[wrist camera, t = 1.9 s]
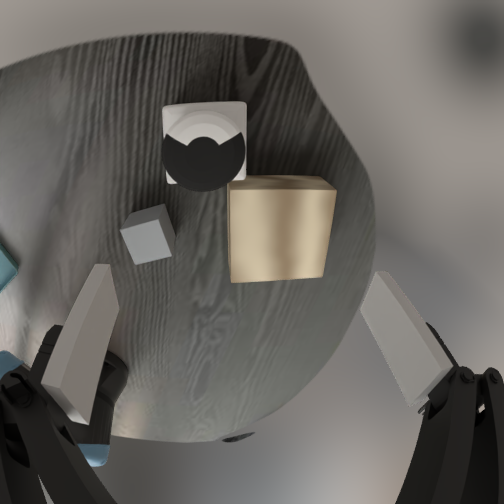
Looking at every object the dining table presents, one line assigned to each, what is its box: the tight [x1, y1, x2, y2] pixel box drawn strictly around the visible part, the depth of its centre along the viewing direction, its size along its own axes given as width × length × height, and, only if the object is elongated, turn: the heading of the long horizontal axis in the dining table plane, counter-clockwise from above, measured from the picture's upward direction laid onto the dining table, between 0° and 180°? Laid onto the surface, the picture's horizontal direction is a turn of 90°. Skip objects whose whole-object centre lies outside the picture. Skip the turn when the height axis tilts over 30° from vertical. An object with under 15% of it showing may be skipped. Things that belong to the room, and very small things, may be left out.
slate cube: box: [120, 203, 176, 265], centre depth 34 cm, size 5×5×5 cm
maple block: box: [227, 175, 337, 283], centre depth 35 cm, size 12×12×6 cm
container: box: [162, 101, 247, 192], centre depth 25 cm, size 8×8×13 cm
